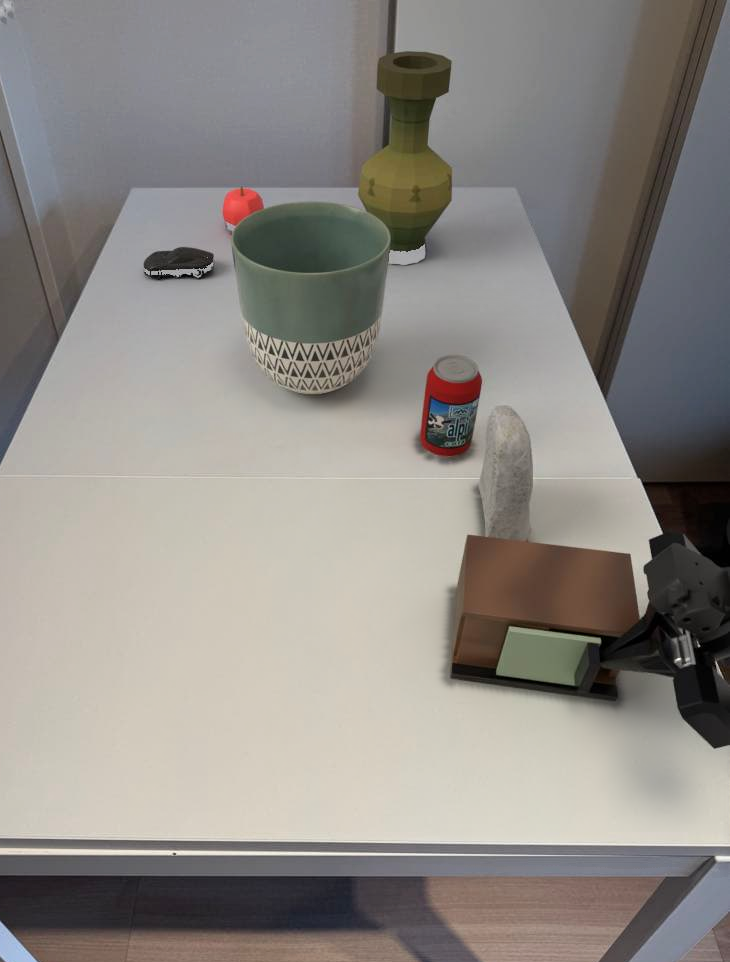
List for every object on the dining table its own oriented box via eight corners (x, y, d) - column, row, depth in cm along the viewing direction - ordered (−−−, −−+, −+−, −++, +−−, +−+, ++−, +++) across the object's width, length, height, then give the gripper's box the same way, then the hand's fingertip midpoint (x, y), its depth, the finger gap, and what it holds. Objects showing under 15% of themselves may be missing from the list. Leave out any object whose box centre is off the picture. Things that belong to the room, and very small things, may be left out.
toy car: (147, 264, 134) (143, 243, 132) (216, 263, 135) (213, 242, 132) (143, 281, 130) (139, 259, 128) (214, 279, 131) (211, 258, 128)
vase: (336, 248, 139) (339, 58, 117) (403, 224, 145) (417, 40, 123) (396, 284, 130) (411, 86, 108) (465, 257, 136) (491, 65, 114)
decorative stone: (467, 484, 96) (486, 384, 85) (515, 485, 96) (540, 384, 85) (479, 549, 88) (501, 448, 77) (531, 549, 88) (560, 448, 77)
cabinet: (606, 609, 82) (630, 553, 76) (616, 701, 74) (644, 647, 68) (455, 590, 84) (467, 534, 77) (450, 678, 76) (462, 623, 70)
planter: (225, 410, 106) (208, 262, 90) (266, 334, 119) (258, 194, 104) (366, 431, 103) (373, 282, 87) (392, 351, 116) (403, 209, 100)
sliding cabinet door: (581, 681, 75) (600, 637, 69) (583, 708, 73) (603, 665, 67) (496, 670, 76) (509, 625, 70) (495, 696, 74) (509, 652, 68)
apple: (235, 218, 147) (231, 175, 141) (273, 225, 145) (271, 182, 139) (215, 235, 142) (211, 192, 136) (254, 243, 140) (251, 199, 134)
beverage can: (429, 465, 98) (440, 387, 89) (411, 433, 103) (419, 355, 94) (478, 456, 99) (493, 378, 91) (458, 424, 104) (471, 347, 95)
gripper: (712, 459, 63) (545, 536, 72) (764, 645, 50) (553, 709, 59) (772, 537, 67) (609, 600, 77) (833, 724, 55) (629, 772, 64)
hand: (600, 662), depth 69 cm, fingers closed, pressing on sliding cabinet door
